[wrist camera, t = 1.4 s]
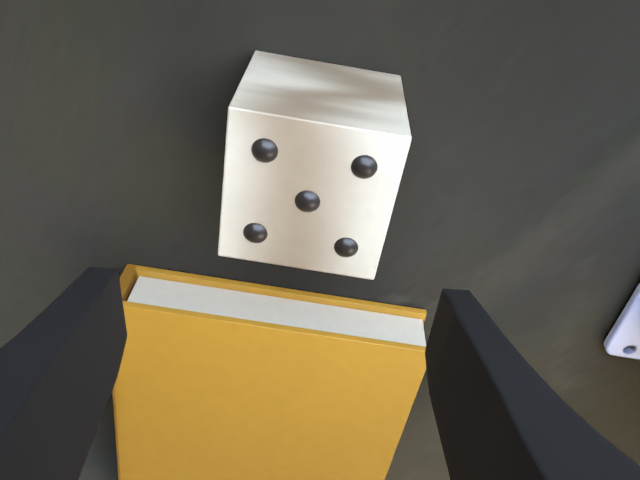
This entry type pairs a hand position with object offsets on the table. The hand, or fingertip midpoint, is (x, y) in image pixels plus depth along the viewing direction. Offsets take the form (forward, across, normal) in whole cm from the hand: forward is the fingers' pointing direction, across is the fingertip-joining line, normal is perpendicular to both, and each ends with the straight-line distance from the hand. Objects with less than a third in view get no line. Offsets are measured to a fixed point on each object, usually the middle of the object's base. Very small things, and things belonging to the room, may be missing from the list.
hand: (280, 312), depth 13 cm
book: (+10, +1, +16) cm, 19 cm away
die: (+10, -1, 0) cm, 10 cm away
